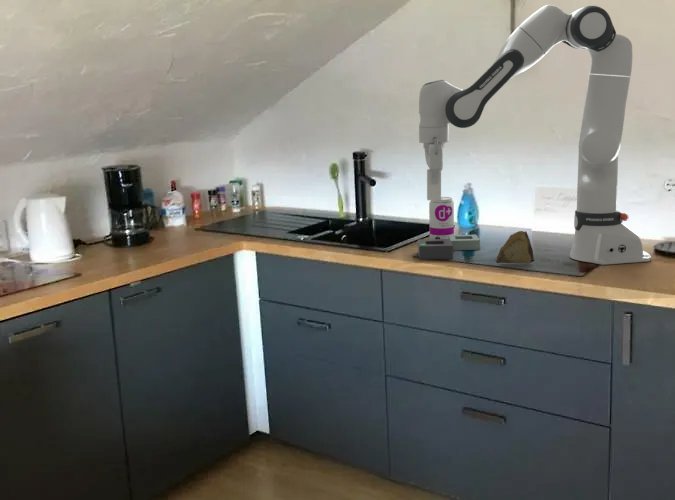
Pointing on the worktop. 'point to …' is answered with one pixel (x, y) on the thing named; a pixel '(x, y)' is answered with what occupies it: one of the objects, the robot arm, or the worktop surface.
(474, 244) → the block
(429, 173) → the plug
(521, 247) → the rock
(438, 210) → the supplement can
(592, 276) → the worktop surface
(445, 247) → the port
